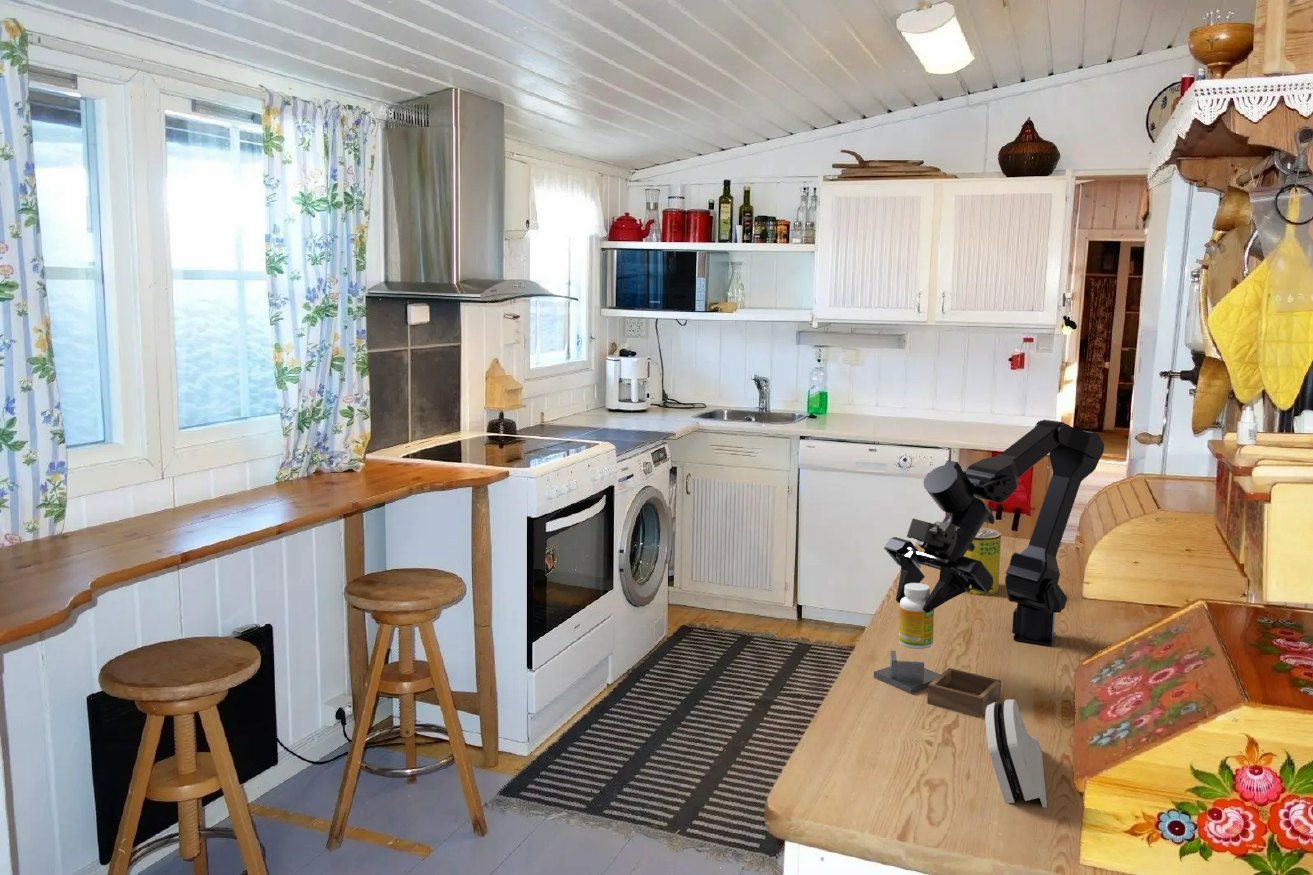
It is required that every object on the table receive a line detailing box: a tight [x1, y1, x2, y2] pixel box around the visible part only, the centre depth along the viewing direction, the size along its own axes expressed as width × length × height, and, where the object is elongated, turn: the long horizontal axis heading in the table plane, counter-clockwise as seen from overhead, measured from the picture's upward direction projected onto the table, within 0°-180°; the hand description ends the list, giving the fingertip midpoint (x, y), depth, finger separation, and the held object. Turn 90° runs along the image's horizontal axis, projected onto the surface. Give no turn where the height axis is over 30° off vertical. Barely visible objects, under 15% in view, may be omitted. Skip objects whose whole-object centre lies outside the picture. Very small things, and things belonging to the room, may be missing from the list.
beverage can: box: [963, 527, 1002, 596], centre depth 212 cm, size 9×9×12 cm
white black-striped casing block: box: [984, 699, 1048, 809], centre depth 135 cm, size 17×5×10 cm, turn 162°
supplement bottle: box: [898, 582, 935, 650], centre depth 165 cm, size 5×5×10 cm
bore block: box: [926, 667, 1002, 718], centre depth 158 cm, size 8×8×3 cm
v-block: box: [873, 650, 942, 695], centre depth 166 cm, size 8×8×4 cm
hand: (911, 606), depth 164 cm, fingers closed on supplement bottle, 5 cm apart
